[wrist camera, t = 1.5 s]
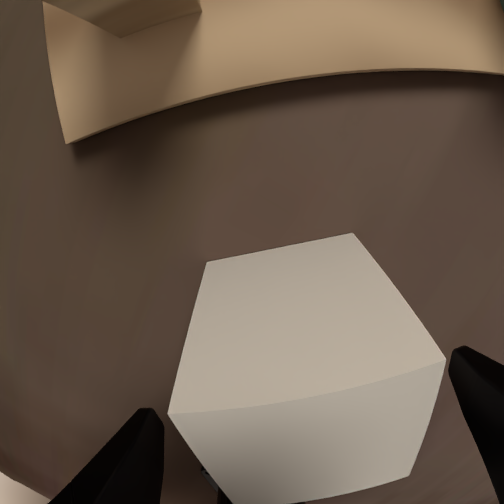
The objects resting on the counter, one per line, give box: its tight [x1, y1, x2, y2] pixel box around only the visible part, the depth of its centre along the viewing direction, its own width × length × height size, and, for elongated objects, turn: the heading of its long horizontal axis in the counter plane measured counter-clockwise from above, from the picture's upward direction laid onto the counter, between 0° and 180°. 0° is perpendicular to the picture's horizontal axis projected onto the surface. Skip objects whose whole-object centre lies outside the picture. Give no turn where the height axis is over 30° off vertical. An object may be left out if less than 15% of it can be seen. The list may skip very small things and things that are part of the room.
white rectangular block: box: [167, 233, 446, 504], centre depth 9 cm, size 5×5×7 cm
